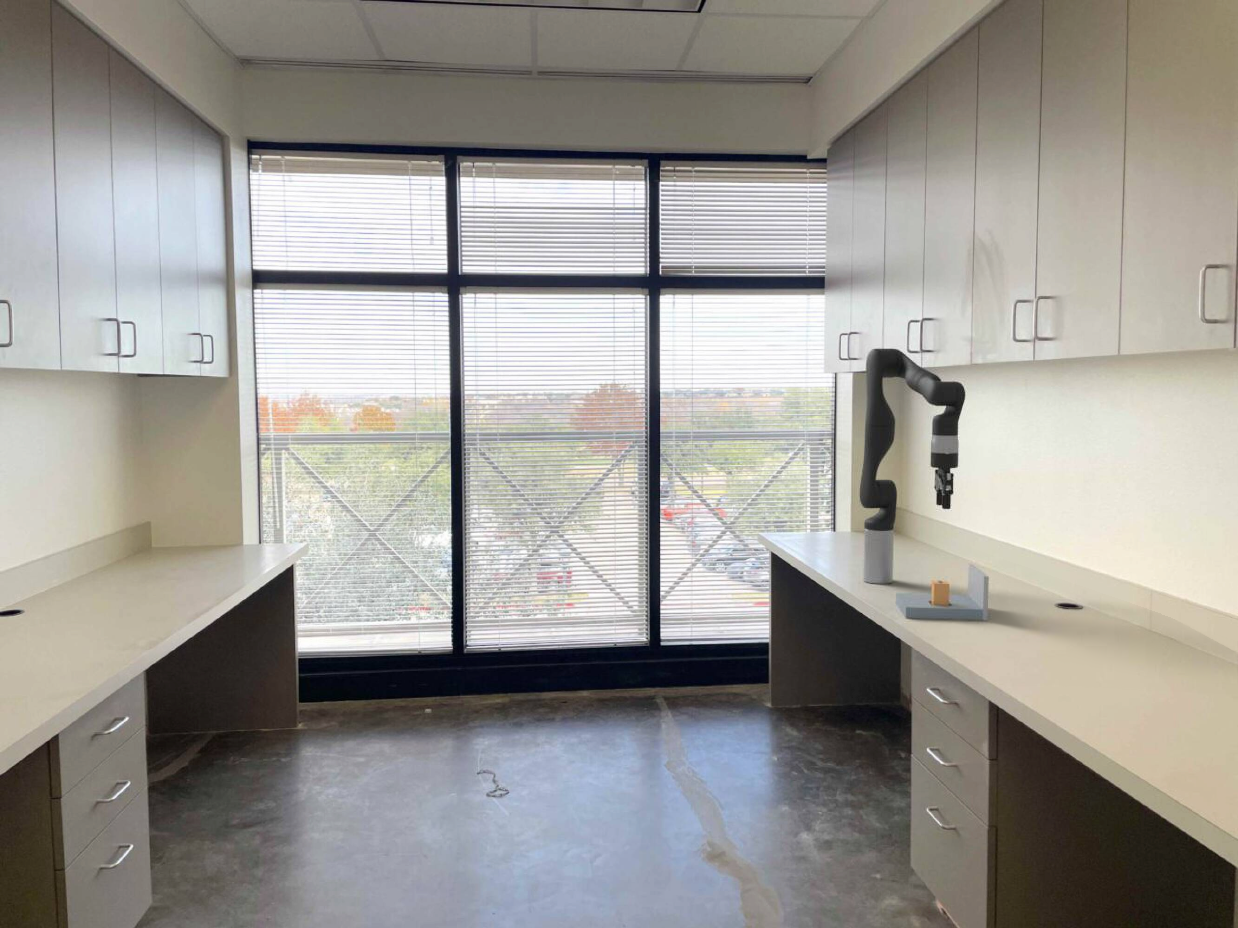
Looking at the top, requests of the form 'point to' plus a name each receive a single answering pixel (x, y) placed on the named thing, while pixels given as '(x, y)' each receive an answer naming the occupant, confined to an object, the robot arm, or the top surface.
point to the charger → (940, 593)
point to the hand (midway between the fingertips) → (943, 507)
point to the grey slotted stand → (950, 601)
